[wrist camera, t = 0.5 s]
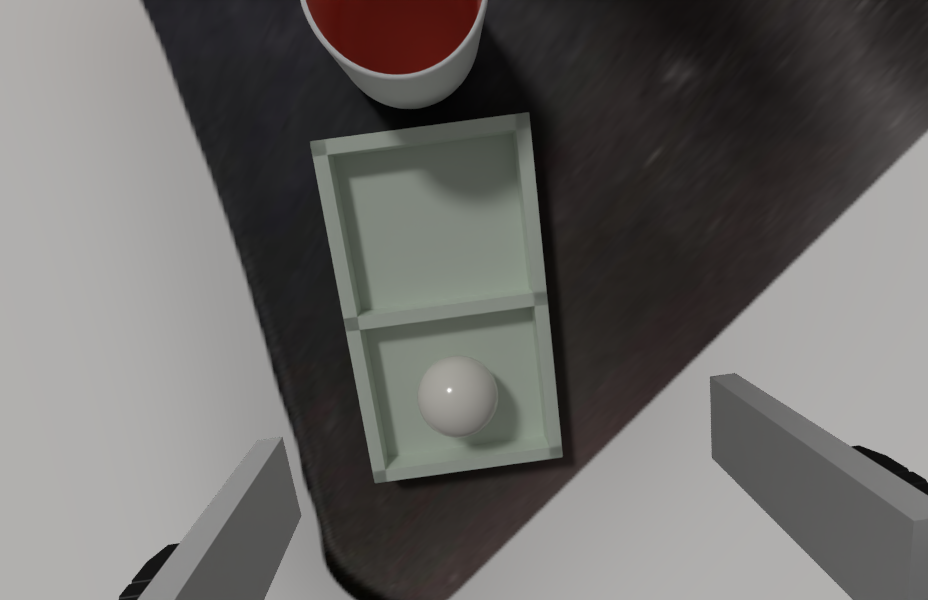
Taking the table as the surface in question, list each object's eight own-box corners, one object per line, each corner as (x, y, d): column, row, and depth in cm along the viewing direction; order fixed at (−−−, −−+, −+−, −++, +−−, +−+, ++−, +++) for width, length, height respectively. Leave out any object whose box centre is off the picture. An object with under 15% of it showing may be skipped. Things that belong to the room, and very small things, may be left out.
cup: (473, -45, 34) (484, -142, 24) (482, 107, 36) (495, 74, 26) (329, -36, 34) (281, -131, 24) (346, 116, 36) (309, 86, 26)
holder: (321, 146, 36) (309, 141, 33) (521, 119, 36) (529, 112, 33) (380, 461, 42) (374, 483, 38) (554, 437, 42) (562, 457, 39)
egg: (414, 350, 38) (408, 378, 33) (489, 340, 38) (497, 366, 33) (425, 420, 40) (421, 459, 34) (498, 410, 40) (507, 447, 34)
